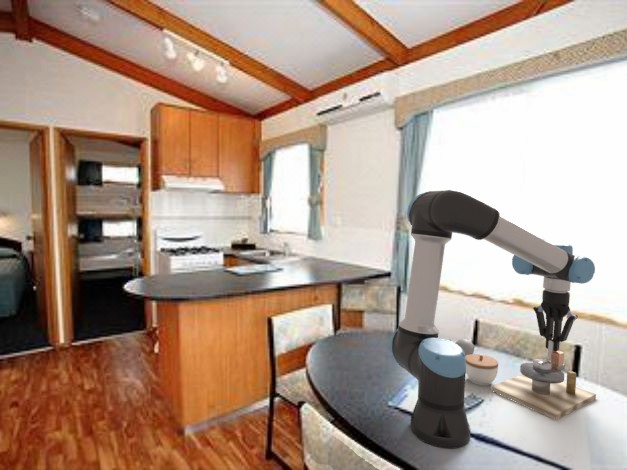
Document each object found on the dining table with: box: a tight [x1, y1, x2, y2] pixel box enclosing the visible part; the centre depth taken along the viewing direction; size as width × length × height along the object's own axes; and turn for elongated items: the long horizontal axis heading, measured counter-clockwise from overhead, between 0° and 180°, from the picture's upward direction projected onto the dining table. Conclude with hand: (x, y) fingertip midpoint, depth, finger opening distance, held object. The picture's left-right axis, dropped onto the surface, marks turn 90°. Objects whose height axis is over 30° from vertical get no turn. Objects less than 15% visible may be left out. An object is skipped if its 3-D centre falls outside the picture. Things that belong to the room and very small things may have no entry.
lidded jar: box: [465, 353, 499, 387], centre depth 129 cm, size 11×11×9 cm
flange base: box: [490, 370, 597, 421], centre depth 120 cm, size 24×20×8 cm
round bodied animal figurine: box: [448, 338, 475, 356], centre depth 149 cm, size 7×12×8 cm, turn 66°
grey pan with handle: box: [519, 350, 566, 383], centre depth 121 cm, size 18×12×6 cm
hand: (551, 359), depth 126 cm, fingers closed
